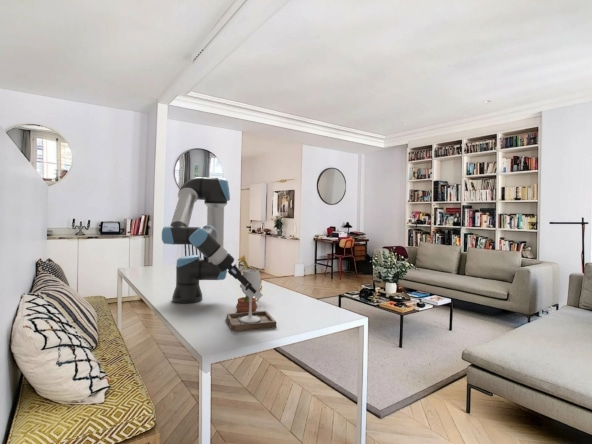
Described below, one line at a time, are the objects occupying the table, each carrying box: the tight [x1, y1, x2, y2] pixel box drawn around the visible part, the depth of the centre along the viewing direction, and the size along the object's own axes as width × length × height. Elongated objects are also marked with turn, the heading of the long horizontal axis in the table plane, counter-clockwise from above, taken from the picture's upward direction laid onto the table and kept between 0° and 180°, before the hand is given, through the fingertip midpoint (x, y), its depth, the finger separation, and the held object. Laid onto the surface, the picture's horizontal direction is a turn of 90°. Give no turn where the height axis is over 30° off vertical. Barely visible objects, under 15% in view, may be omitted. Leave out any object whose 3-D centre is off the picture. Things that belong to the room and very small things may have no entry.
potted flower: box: [233, 259, 259, 313], centre depth 160 cm, size 12×10×25 cm
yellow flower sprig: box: [237, 254, 263, 302], centre depth 178 cm, size 16×4×25 cm, turn 135°
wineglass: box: [240, 269, 262, 323], centre depth 143 cm, size 9×9×21 cm
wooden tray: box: [225, 310, 277, 333], centre depth 143 cm, size 16×18×2 cm
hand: (256, 293), depth 143 cm, fingers open, 13 cm apart
